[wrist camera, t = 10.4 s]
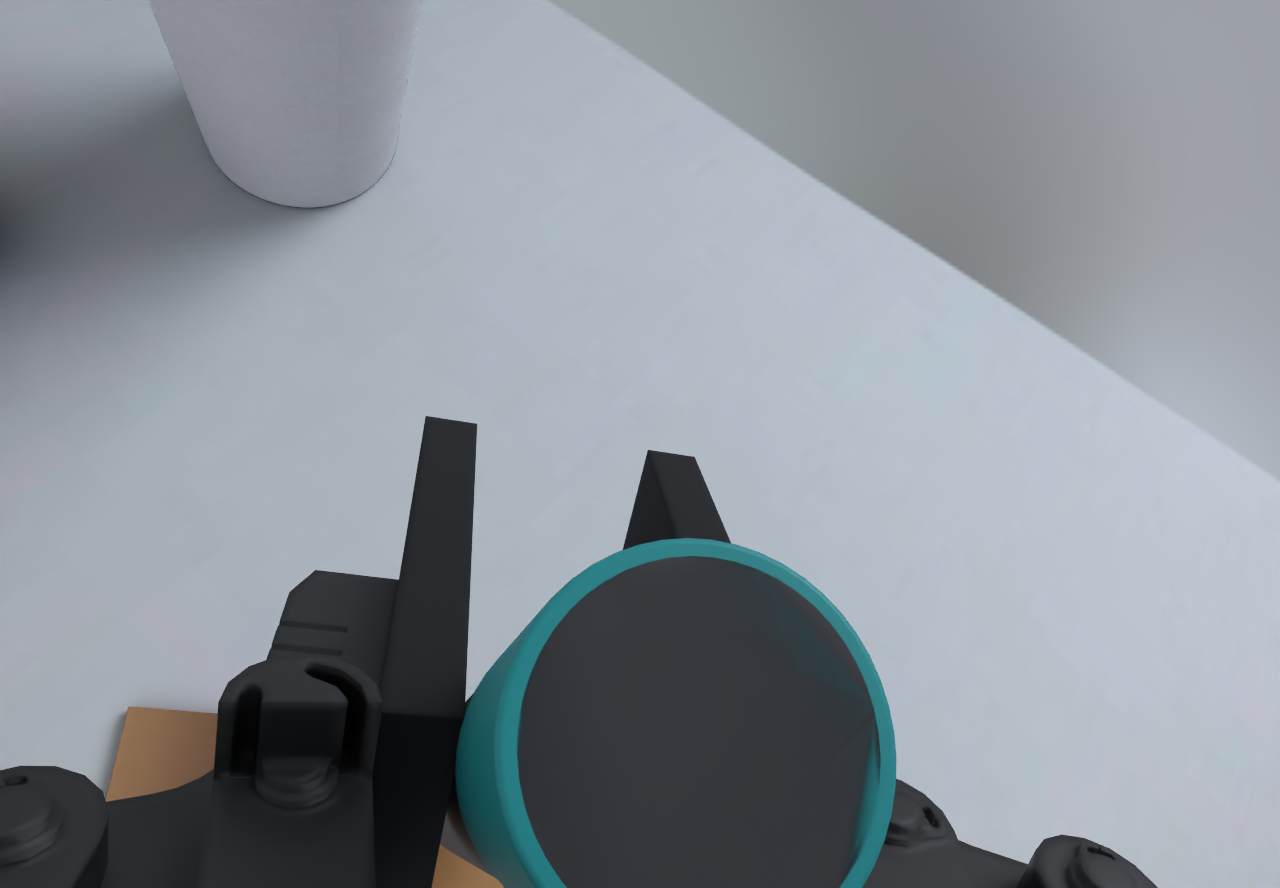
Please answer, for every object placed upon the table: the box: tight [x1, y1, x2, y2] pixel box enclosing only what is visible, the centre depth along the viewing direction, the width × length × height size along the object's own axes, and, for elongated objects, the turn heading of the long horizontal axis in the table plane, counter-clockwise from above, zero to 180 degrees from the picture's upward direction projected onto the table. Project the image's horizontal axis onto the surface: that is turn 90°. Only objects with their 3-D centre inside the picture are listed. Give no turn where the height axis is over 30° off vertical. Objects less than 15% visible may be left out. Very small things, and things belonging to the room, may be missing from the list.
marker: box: [440, 538, 896, 888], centre depth 12 cm, size 3×3×12 cm
